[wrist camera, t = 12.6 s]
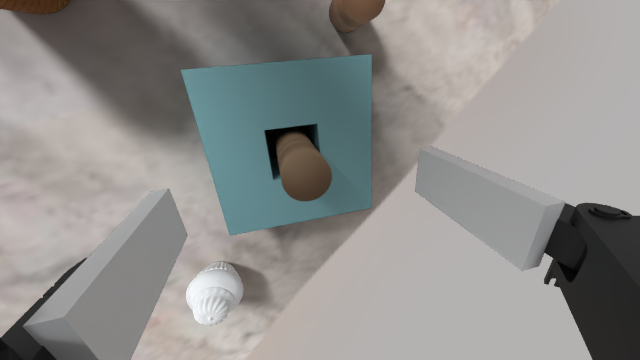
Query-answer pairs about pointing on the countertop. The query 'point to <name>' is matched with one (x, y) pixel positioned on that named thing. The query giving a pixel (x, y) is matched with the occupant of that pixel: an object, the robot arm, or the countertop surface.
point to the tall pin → (301, 165)
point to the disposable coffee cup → (34, 5)
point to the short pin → (353, 13)
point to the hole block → (280, 112)
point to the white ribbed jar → (214, 293)
